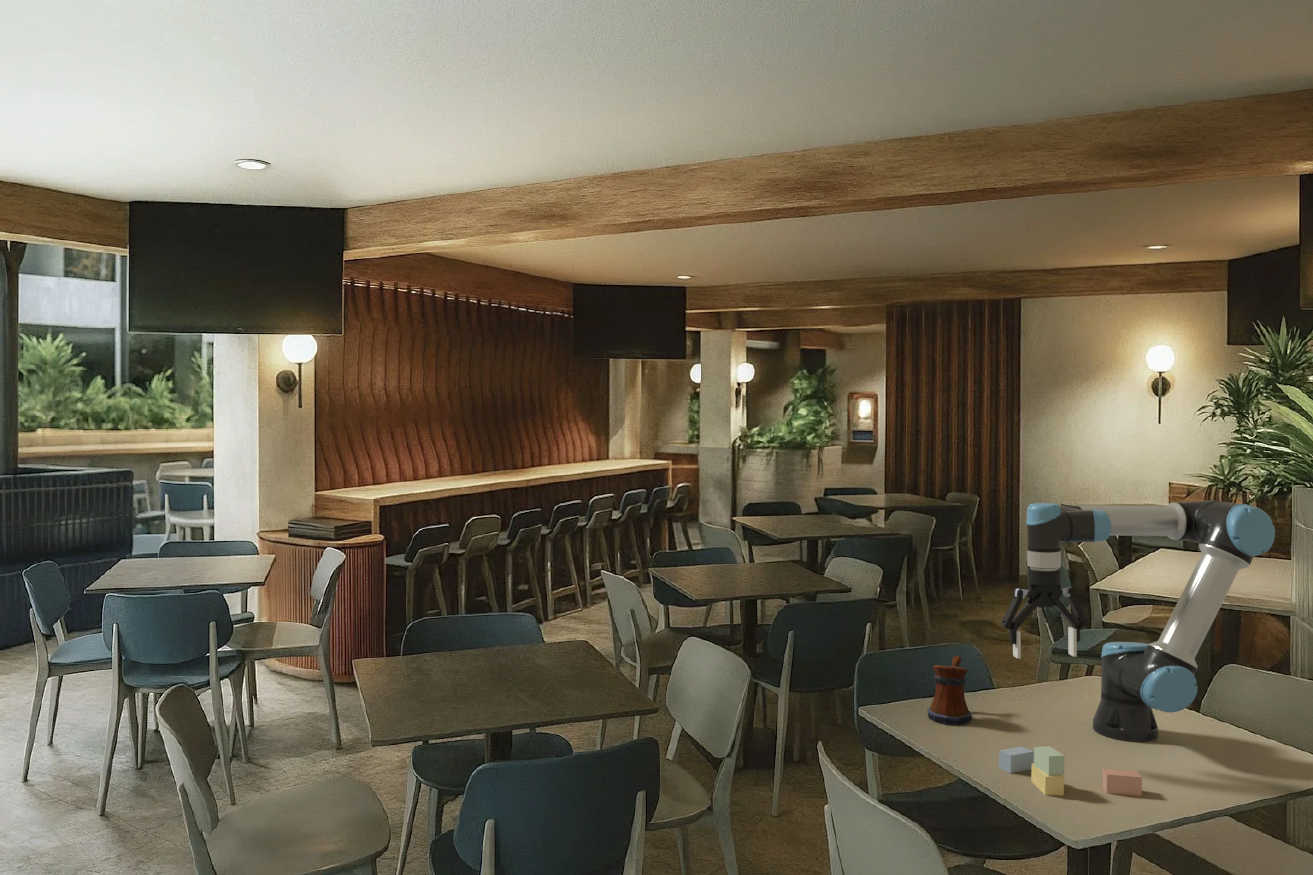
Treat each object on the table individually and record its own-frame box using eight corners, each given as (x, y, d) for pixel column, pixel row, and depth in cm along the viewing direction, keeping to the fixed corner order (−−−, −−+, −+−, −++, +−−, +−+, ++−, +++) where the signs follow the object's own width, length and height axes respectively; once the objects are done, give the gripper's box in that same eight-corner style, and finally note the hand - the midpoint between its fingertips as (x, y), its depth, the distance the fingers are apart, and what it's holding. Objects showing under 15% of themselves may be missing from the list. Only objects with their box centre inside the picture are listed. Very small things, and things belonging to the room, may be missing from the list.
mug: (935, 703, 279) (936, 650, 279) (978, 709, 274) (979, 655, 274) (923, 721, 263) (924, 665, 263) (968, 728, 258) (969, 670, 258)
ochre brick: (1031, 781, 222) (1031, 763, 222) (1049, 782, 222) (1049, 763, 222) (1045, 795, 214) (1045, 776, 214) (1063, 796, 214) (1064, 776, 214)
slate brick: (1021, 764, 233) (1022, 746, 233) (1033, 769, 230) (1033, 751, 230) (998, 768, 230) (999, 750, 230) (1010, 773, 227) (1010, 755, 227)
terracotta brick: (1136, 790, 218) (1137, 771, 218) (1141, 796, 214) (1141, 777, 214) (1102, 787, 219) (1102, 768, 219) (1106, 793, 216) (1107, 774, 215)
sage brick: (1033, 765, 220) (1034, 746, 220) (1048, 764, 221) (1049, 746, 221) (1048, 775, 214) (1049, 756, 214) (1064, 774, 215) (1064, 755, 215)
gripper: (1087, 563, 243) (1088, 650, 244) (986, 567, 242) (987, 653, 243) (1102, 569, 236) (1103, 658, 236) (998, 572, 234) (999, 661, 235)
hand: (1044, 656), depth 240 cm, fingers open, 13 cm apart
